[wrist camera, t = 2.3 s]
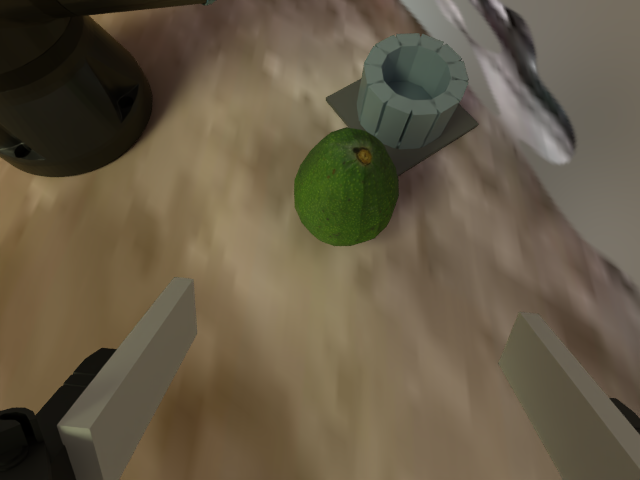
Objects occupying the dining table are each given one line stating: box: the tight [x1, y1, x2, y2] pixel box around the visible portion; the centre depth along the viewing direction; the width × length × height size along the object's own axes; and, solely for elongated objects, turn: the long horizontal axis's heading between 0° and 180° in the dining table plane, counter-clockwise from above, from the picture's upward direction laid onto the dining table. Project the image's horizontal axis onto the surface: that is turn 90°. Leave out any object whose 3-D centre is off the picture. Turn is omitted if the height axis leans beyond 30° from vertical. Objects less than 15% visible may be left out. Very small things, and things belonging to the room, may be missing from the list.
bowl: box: [357, 33, 469, 149], centre depth 34 cm, size 9×9×5 cm
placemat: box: [326, 79, 478, 176], centre depth 36 cm, size 11×11×1 cm
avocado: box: [294, 127, 399, 246], centre depth 27 cm, size 8×8×12 cm
